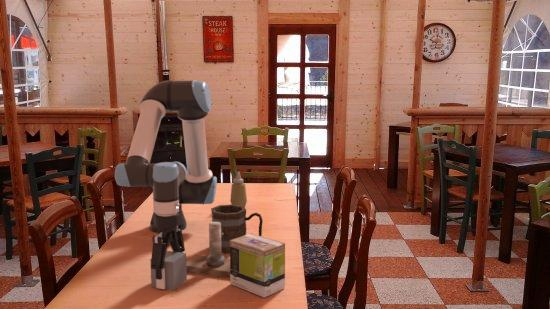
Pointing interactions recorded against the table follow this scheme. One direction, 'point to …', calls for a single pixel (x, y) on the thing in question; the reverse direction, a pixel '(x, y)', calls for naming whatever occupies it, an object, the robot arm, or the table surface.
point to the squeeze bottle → (238, 192)
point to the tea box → (257, 264)
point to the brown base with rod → (211, 256)
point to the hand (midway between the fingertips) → (169, 281)
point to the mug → (232, 223)
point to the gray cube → (172, 270)
